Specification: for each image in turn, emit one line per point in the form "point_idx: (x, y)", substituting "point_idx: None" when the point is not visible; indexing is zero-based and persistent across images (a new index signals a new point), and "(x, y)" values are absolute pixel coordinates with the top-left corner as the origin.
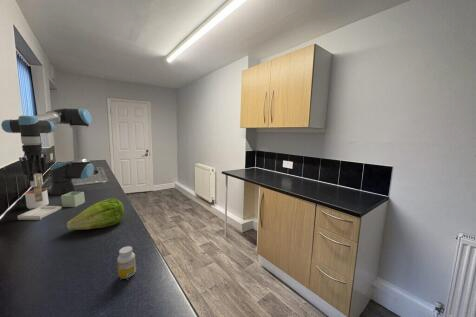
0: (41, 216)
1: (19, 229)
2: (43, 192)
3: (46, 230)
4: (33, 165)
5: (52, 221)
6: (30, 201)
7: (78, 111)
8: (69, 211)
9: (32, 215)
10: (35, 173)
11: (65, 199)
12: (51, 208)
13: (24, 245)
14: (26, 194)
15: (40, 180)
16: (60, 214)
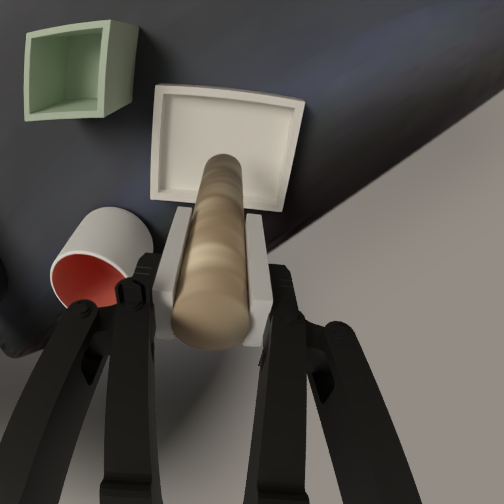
0: (295, 99)
1: (388, 124)
2: (90, 249)
3: (419, 16)
4: (274, 443)
5: (329, 31)
6: None
7: None
8: (192, 23)
9: (292, 143)
10: (192, 337)
11: (115, 84)
12: (162, 137)
13: (499, 45)
14: None
15: (185, 242)
16: (234, 43)
